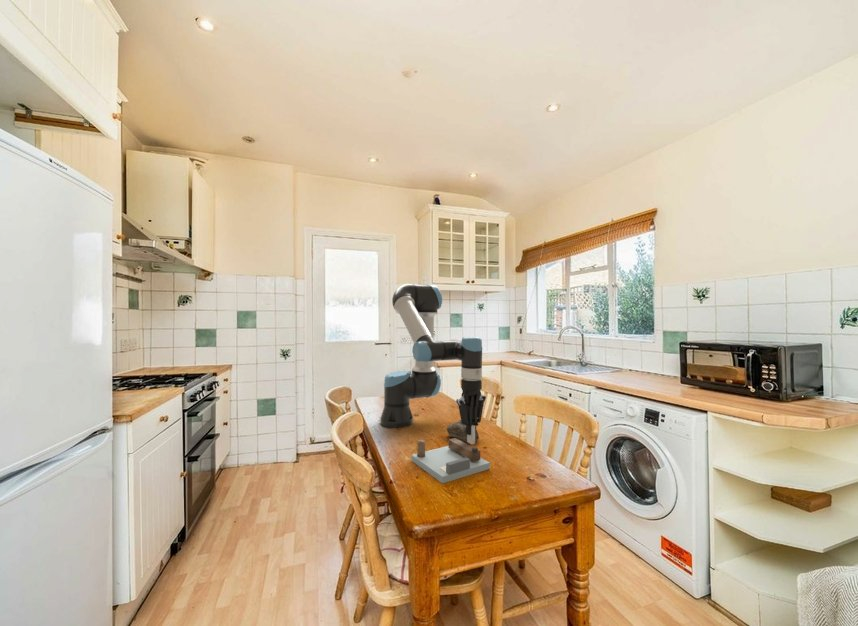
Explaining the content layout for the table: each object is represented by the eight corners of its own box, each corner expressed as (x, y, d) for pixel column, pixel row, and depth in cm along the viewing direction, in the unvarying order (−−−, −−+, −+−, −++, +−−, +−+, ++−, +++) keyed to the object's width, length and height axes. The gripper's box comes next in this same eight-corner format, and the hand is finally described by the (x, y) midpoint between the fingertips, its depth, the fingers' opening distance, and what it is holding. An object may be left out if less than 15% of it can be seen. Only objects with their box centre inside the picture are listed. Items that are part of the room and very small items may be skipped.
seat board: (411, 460, 120) (411, 440, 120) (455, 449, 130) (455, 430, 130) (442, 483, 104) (442, 460, 104) (489, 468, 114) (490, 447, 114)
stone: (440, 425, 147) (456, 407, 148) (456, 439, 150) (472, 422, 151) (450, 439, 134) (467, 420, 135) (468, 455, 137) (484, 435, 138)
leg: (448, 447, 125) (448, 436, 125) (455, 446, 127) (455, 435, 127) (473, 462, 114) (473, 449, 114) (480, 460, 115) (480, 447, 115)
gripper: (465, 382, 121) (464, 450, 121) (491, 378, 129) (490, 442, 129) (451, 379, 127) (450, 443, 127) (477, 375, 135) (476, 436, 135)
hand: (471, 442), depth 128 cm, fingers closed
